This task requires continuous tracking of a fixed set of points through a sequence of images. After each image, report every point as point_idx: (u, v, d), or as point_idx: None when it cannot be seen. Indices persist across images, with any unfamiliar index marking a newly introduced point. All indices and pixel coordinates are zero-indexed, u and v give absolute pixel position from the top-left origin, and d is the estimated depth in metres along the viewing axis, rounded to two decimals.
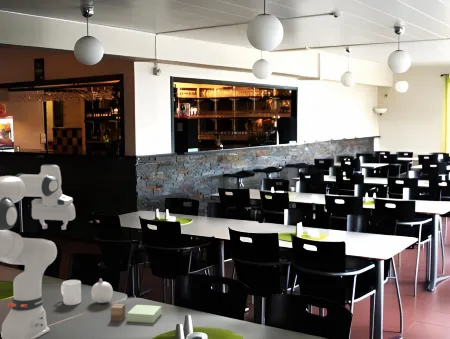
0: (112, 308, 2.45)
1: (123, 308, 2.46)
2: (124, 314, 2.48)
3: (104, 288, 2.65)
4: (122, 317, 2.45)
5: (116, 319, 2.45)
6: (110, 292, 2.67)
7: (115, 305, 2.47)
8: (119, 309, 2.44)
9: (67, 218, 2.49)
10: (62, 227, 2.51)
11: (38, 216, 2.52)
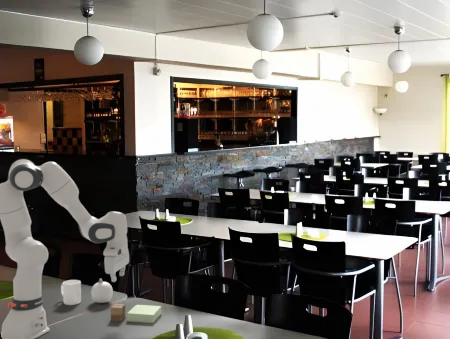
0: (112, 308, 2.45)
1: (123, 308, 2.46)
2: (124, 314, 2.48)
3: (103, 288, 2.65)
4: (122, 317, 2.45)
5: (116, 319, 2.45)
6: (110, 292, 2.67)
7: (115, 305, 2.47)
8: (119, 309, 2.44)
9: None
10: None
11: None
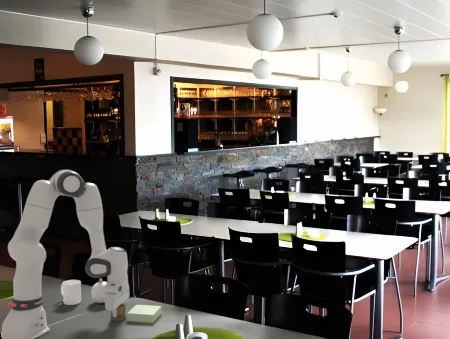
0: None
1: (123, 308, 2.46)
2: (124, 314, 2.48)
3: None
4: (122, 317, 2.45)
5: (116, 319, 2.45)
6: None
7: None
8: (119, 309, 2.44)
9: None
10: None
11: None
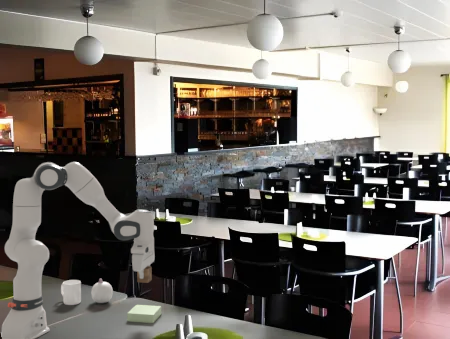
0: None
1: (149, 270, 2.47)
2: (150, 276, 2.48)
3: (103, 288, 2.65)
4: (148, 279, 2.46)
5: (143, 281, 2.45)
6: (110, 292, 2.67)
7: None
8: (146, 271, 2.45)
9: None
10: None
11: None
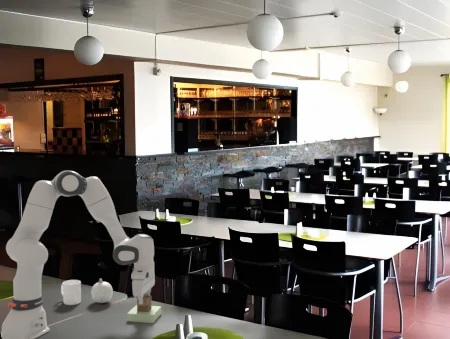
0: None
1: (149, 299, 2.48)
2: (150, 305, 2.49)
3: (103, 288, 2.65)
4: (148, 308, 2.47)
5: (142, 310, 2.46)
6: (110, 292, 2.67)
7: None
8: (146, 300, 2.46)
9: None
10: None
11: None
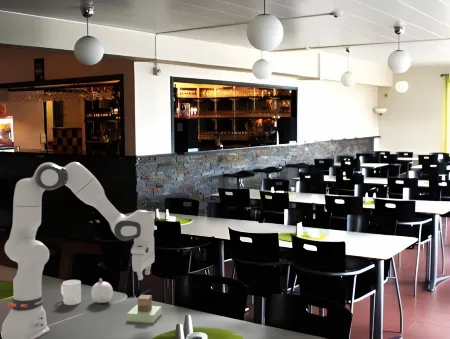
0: (139, 299, 2.46)
1: (150, 299, 2.48)
2: (151, 305, 2.50)
3: (103, 288, 2.65)
4: (149, 308, 2.47)
5: (143, 310, 2.46)
6: (110, 292, 2.67)
7: (142, 296, 2.49)
8: (146, 300, 2.46)
9: None
10: None
11: None
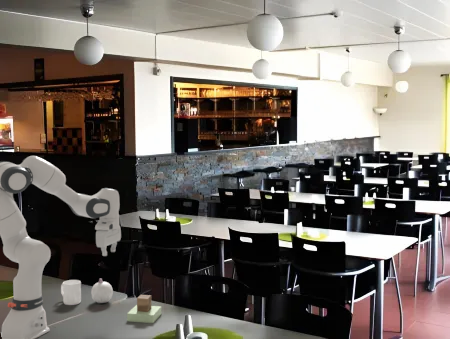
0: (138, 299, 2.46)
1: (149, 299, 2.48)
2: (150, 305, 2.50)
3: (103, 288, 2.65)
4: (148, 308, 2.47)
5: (142, 310, 2.46)
6: (110, 292, 2.67)
7: (141, 296, 2.49)
8: (145, 300, 2.46)
9: None
10: None
11: None
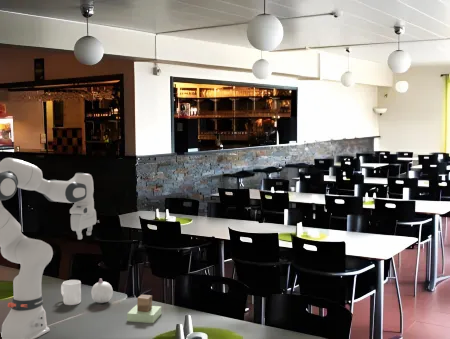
0: (139, 299, 2.46)
1: (150, 299, 2.48)
2: (150, 305, 2.49)
3: (103, 288, 2.65)
4: (148, 308, 2.47)
5: (143, 310, 2.46)
6: (110, 292, 2.67)
7: (142, 296, 2.49)
8: (146, 300, 2.46)
9: None
10: None
11: None
